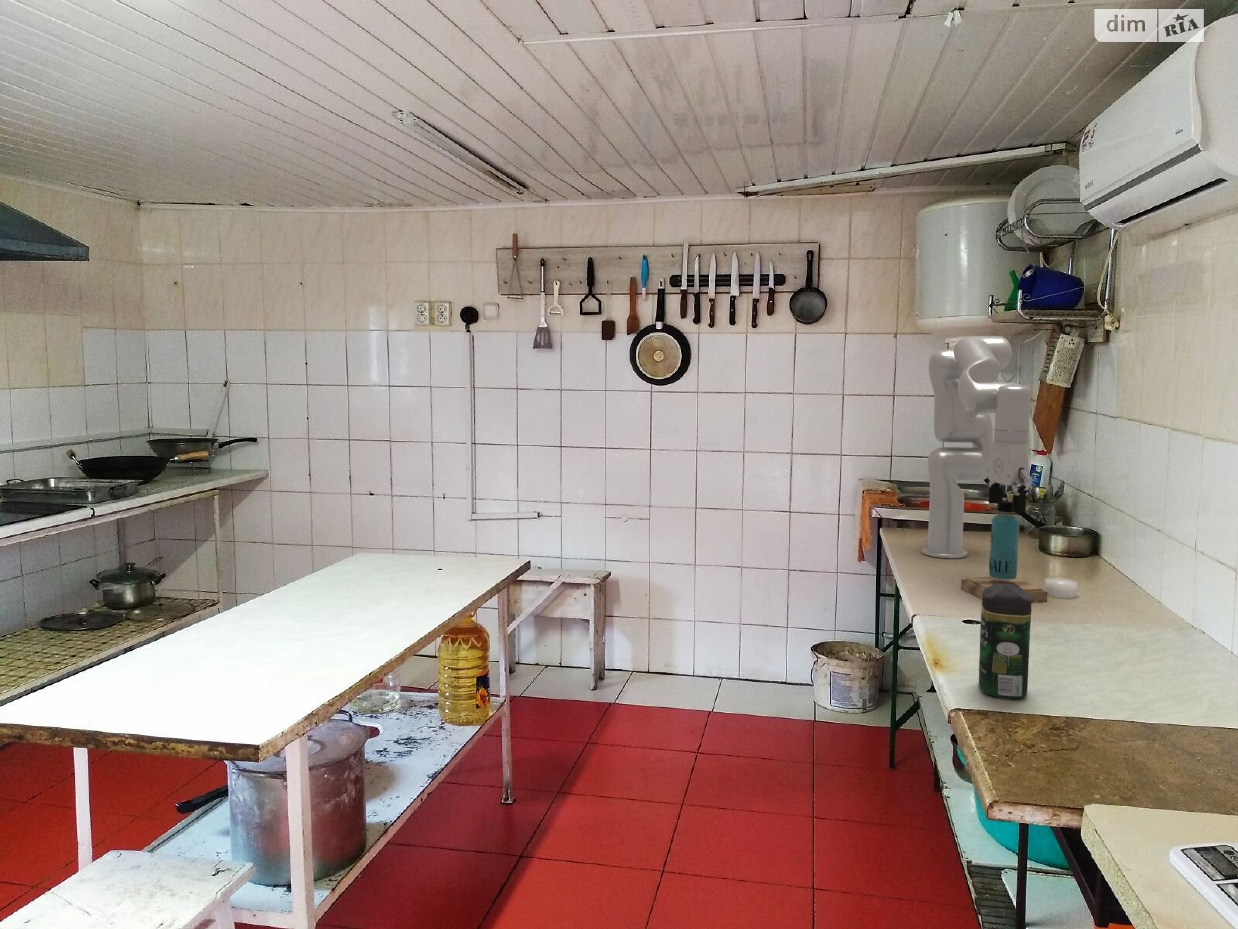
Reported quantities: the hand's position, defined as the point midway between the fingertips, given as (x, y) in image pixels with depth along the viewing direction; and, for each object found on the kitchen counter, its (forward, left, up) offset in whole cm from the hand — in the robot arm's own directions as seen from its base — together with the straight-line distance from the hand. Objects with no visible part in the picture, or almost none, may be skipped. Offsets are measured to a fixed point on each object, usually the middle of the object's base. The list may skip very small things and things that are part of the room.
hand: (1006, 507), depth 214 cm
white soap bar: (+3, +14, -22) cm, 26 cm away
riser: (+1, 0, -22) cm, 22 cm away
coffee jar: (+58, -36, -22) cm, 71 cm away
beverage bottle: (0, 0, -19) cm, 19 cm away
